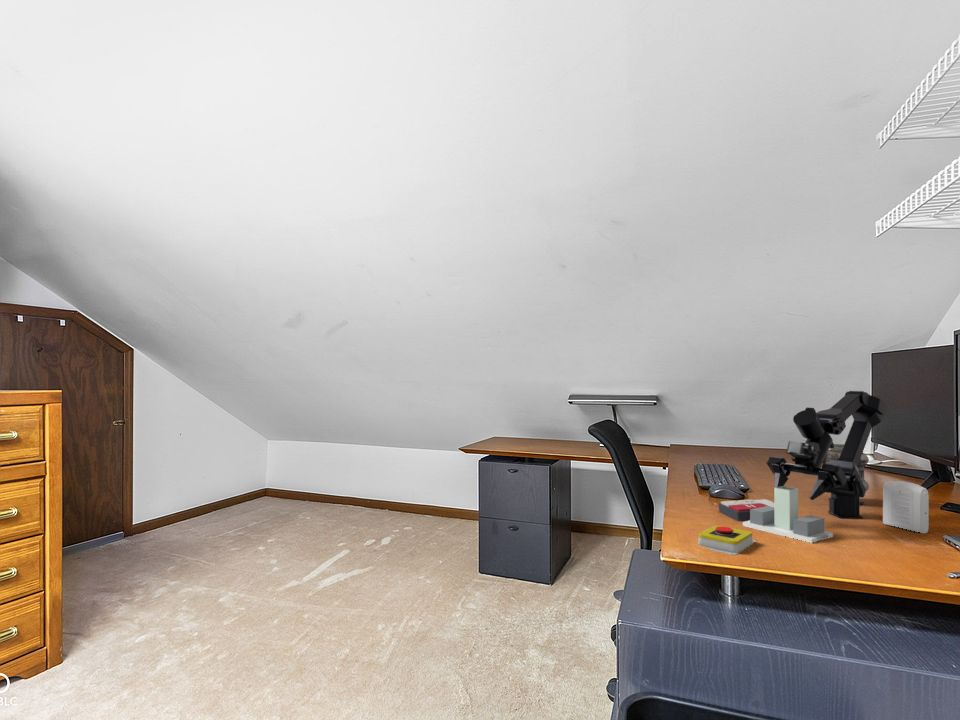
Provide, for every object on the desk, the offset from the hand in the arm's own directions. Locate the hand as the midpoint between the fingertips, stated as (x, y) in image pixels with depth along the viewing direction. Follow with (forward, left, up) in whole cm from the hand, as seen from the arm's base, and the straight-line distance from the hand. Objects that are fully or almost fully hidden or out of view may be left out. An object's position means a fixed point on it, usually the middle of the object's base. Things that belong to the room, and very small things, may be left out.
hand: (793, 495), depth 149 cm
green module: (+3, +2, -8) cm, 8 cm away
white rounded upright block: (-30, -5, -9) cm, 32 cm away
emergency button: (+22, +15, -10) cm, 28 cm away
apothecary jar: (-31, -36, -9) cm, 49 cm away
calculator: (+5, -14, -9) cm, 17 cm away
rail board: (+3, +2, -9) cm, 9 cm away
